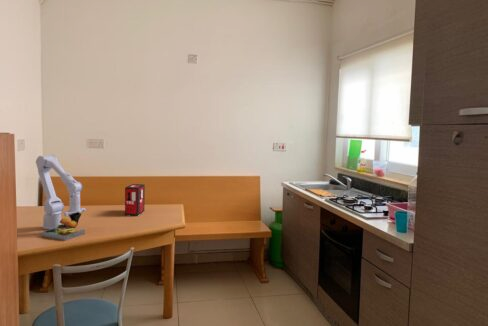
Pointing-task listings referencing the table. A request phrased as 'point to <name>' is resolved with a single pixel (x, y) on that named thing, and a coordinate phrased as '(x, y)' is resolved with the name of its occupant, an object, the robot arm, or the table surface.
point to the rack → (54, 235)
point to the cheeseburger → (66, 227)
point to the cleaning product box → (134, 199)
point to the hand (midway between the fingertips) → (75, 225)
